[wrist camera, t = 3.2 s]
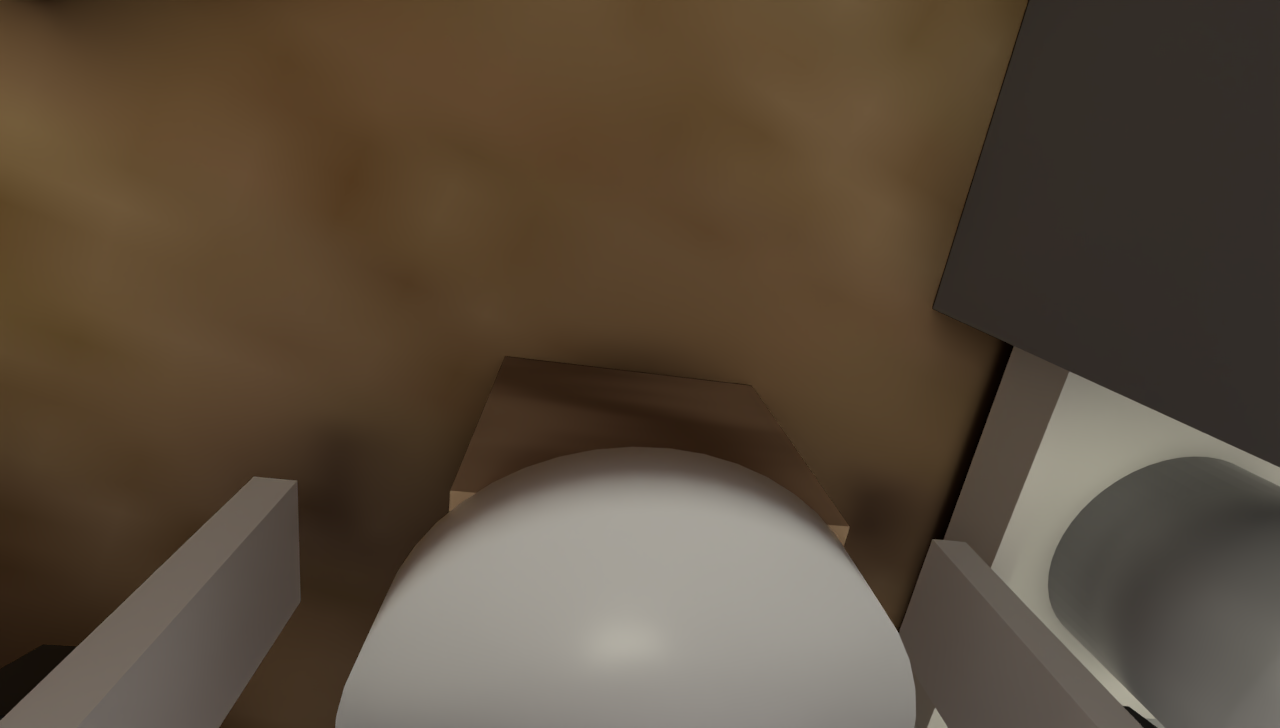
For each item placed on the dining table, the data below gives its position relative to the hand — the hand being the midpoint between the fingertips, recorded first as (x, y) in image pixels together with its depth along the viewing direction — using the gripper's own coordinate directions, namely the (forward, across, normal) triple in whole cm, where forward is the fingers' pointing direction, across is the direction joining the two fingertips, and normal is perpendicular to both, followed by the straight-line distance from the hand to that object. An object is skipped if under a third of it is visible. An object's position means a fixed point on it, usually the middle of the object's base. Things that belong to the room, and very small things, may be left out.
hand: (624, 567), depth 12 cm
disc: (-2, 0, 0) cm, 2 cm away
